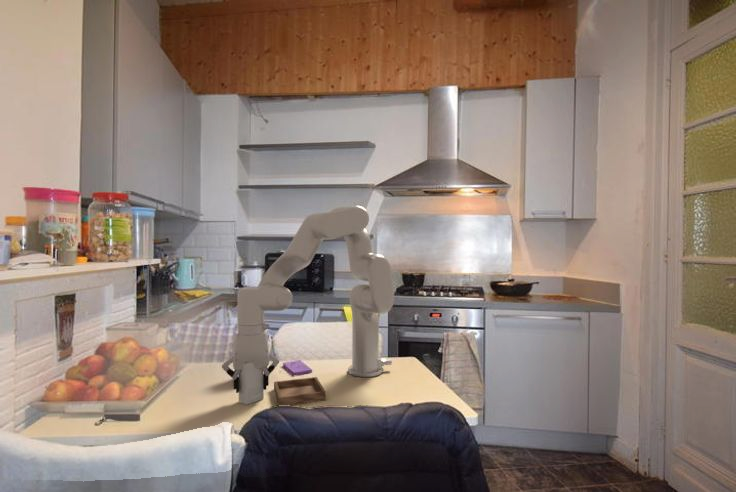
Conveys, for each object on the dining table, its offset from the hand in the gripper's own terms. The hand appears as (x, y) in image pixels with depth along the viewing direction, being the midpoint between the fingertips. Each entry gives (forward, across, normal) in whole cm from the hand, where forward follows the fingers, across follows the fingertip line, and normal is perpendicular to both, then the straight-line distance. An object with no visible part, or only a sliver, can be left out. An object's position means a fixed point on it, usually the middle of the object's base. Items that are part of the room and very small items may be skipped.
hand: (251, 389), depth 117 cm
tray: (+3, -14, 0) cm, 14 cm away
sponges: (+4, -17, -24) cm, 30 cm away
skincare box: (+4, 0, 0) cm, 4 cm away
